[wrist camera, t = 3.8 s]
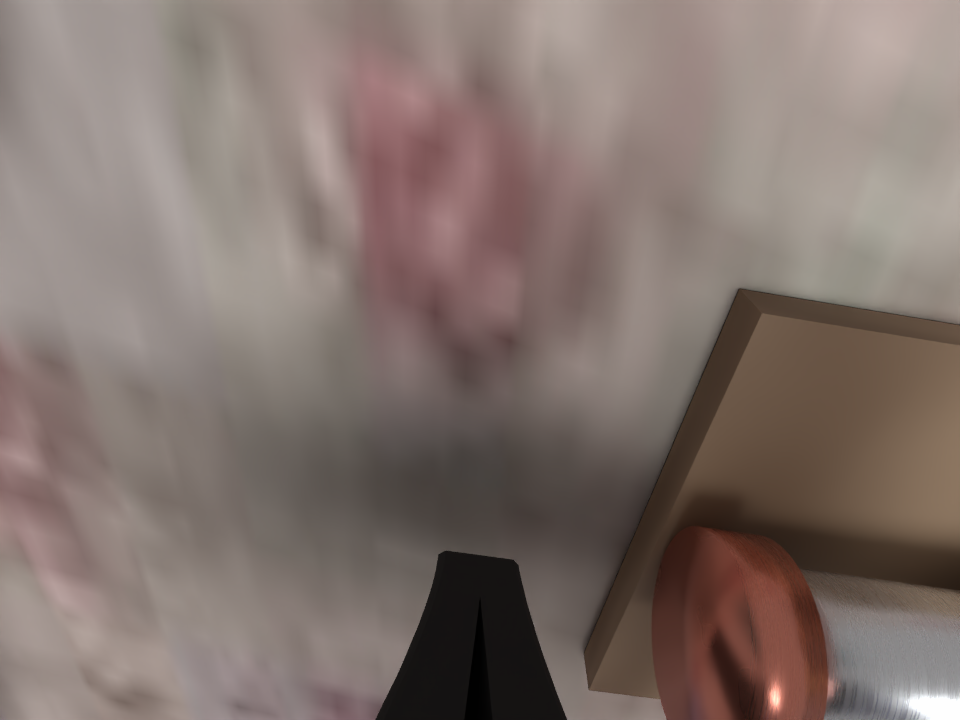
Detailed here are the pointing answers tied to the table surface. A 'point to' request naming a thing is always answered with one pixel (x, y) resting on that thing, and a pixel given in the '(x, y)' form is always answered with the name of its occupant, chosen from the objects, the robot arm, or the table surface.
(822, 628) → the pin
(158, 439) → the table surface
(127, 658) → the table surface
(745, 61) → the table surface
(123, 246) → the table surface
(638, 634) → the hitch block
